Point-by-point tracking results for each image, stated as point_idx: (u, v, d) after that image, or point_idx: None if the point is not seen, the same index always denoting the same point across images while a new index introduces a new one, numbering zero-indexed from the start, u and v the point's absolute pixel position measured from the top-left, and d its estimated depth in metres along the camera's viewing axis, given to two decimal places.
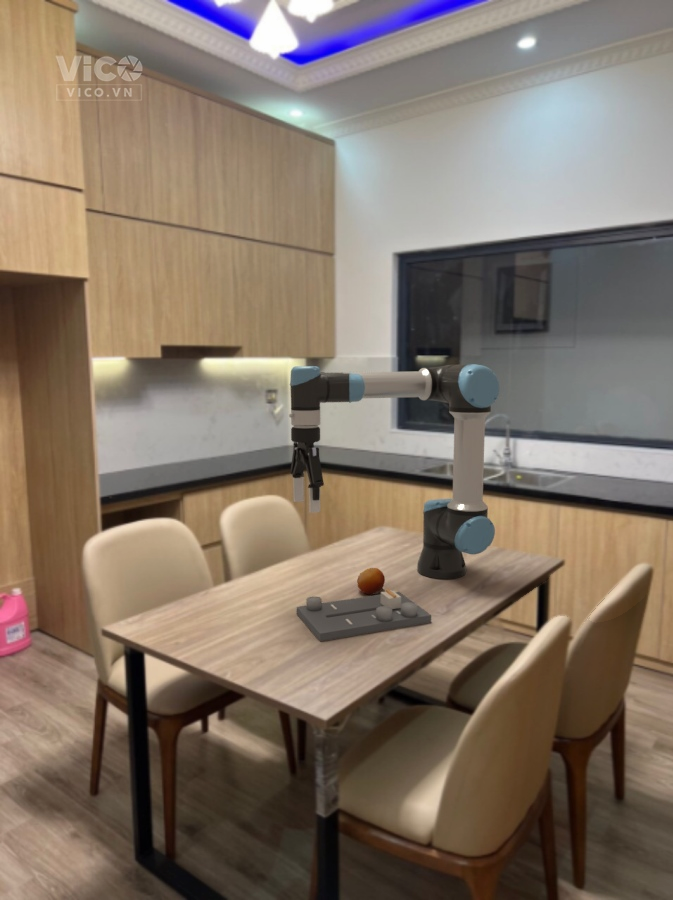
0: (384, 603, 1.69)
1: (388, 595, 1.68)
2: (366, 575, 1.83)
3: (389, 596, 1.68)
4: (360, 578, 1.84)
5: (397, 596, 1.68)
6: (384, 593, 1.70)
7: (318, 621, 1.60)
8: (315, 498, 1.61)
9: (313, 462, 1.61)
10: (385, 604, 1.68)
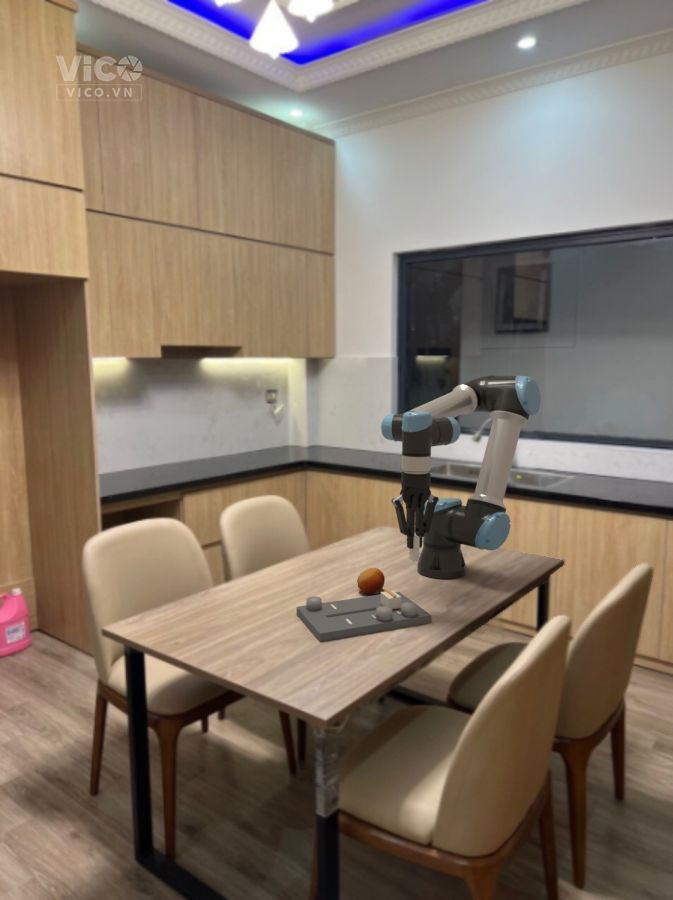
0: (384, 603, 1.69)
1: (388, 595, 1.68)
2: (366, 575, 1.83)
3: (389, 596, 1.68)
4: (360, 578, 1.84)
5: (397, 596, 1.68)
6: (384, 593, 1.70)
7: (318, 621, 1.60)
8: (407, 545, 1.69)
9: (397, 513, 1.67)
10: (385, 604, 1.68)
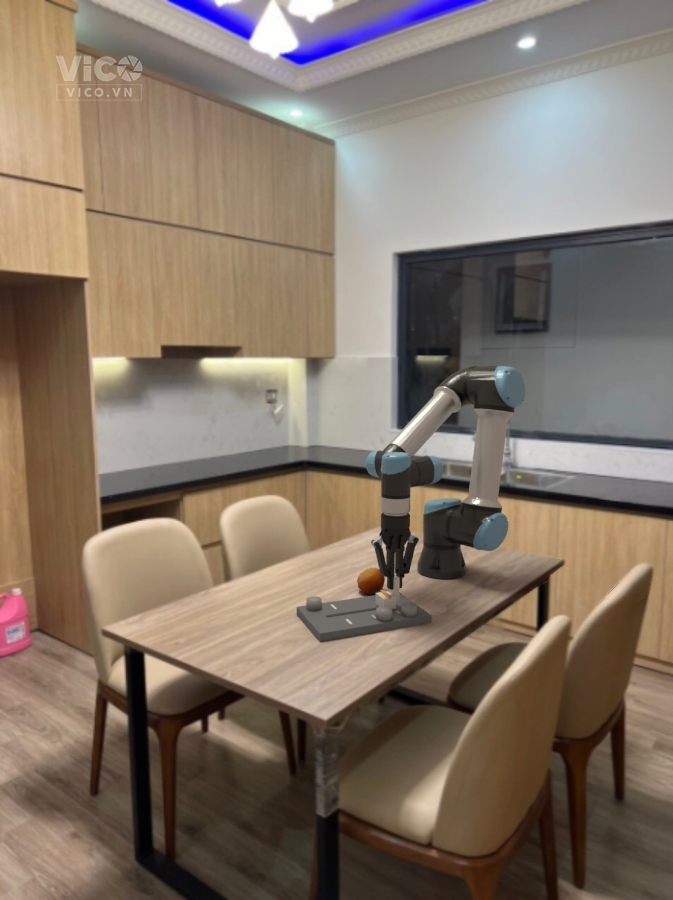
0: (379, 604, 1.68)
1: (383, 596, 1.68)
2: (366, 575, 1.83)
3: (384, 597, 1.67)
4: (360, 578, 1.84)
5: (392, 597, 1.67)
6: (379, 594, 1.69)
7: (318, 621, 1.60)
8: (387, 586, 1.69)
9: (377, 554, 1.66)
10: (380, 605, 1.68)
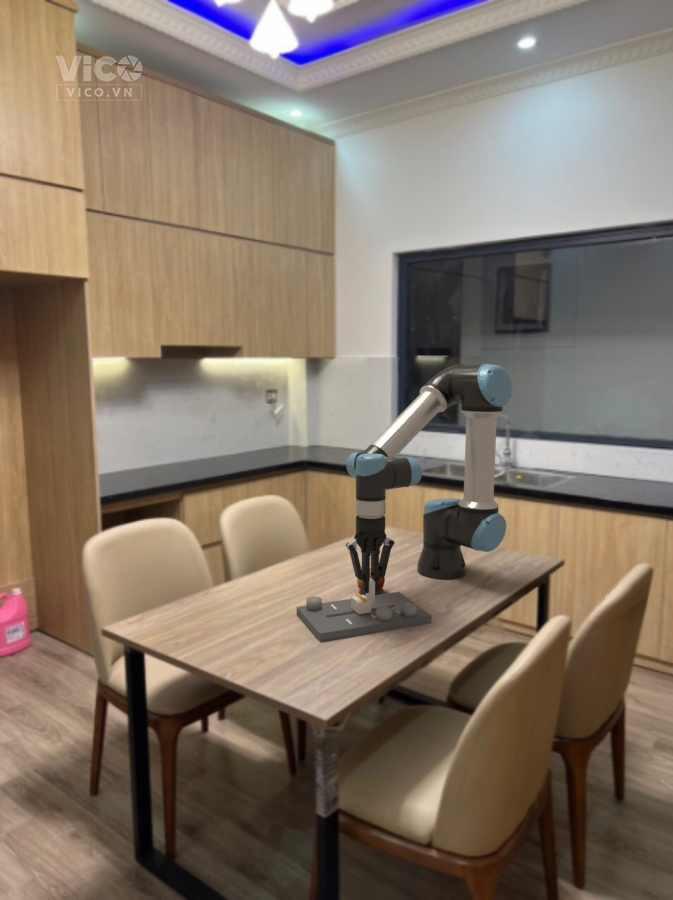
0: (354, 608, 1.66)
1: (358, 599, 1.65)
2: None
3: (359, 600, 1.65)
4: None
5: (367, 600, 1.65)
6: (354, 597, 1.67)
7: (318, 621, 1.60)
8: (363, 590, 1.66)
9: (351, 557, 1.64)
10: (355, 609, 1.65)
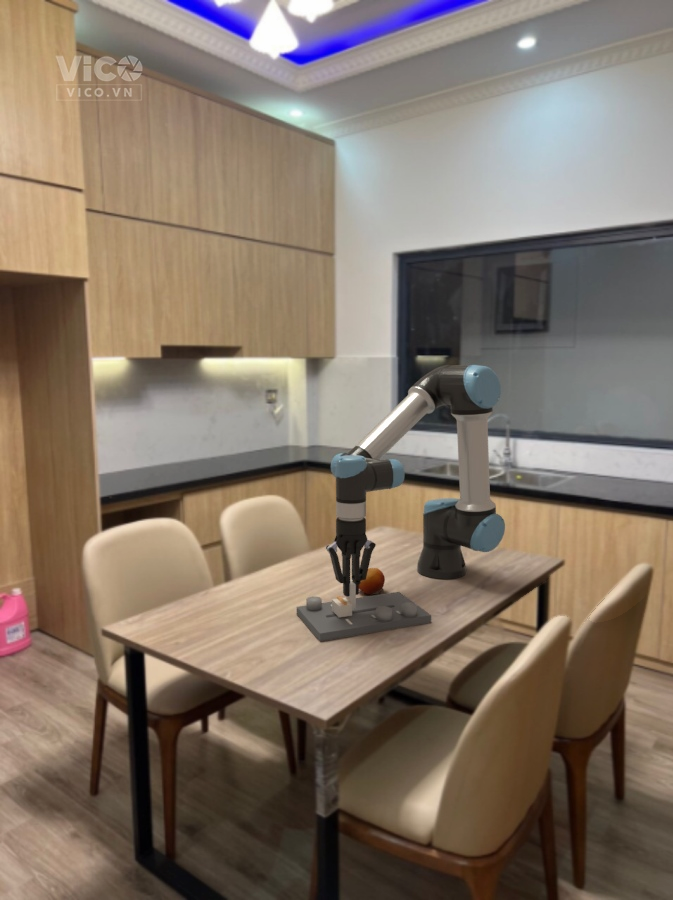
0: (335, 611, 1.64)
1: (339, 602, 1.63)
2: None
3: (340, 603, 1.63)
4: None
5: (348, 603, 1.63)
6: (335, 600, 1.65)
7: (318, 621, 1.60)
8: (343, 593, 1.64)
9: (332, 560, 1.62)
10: (336, 612, 1.63)
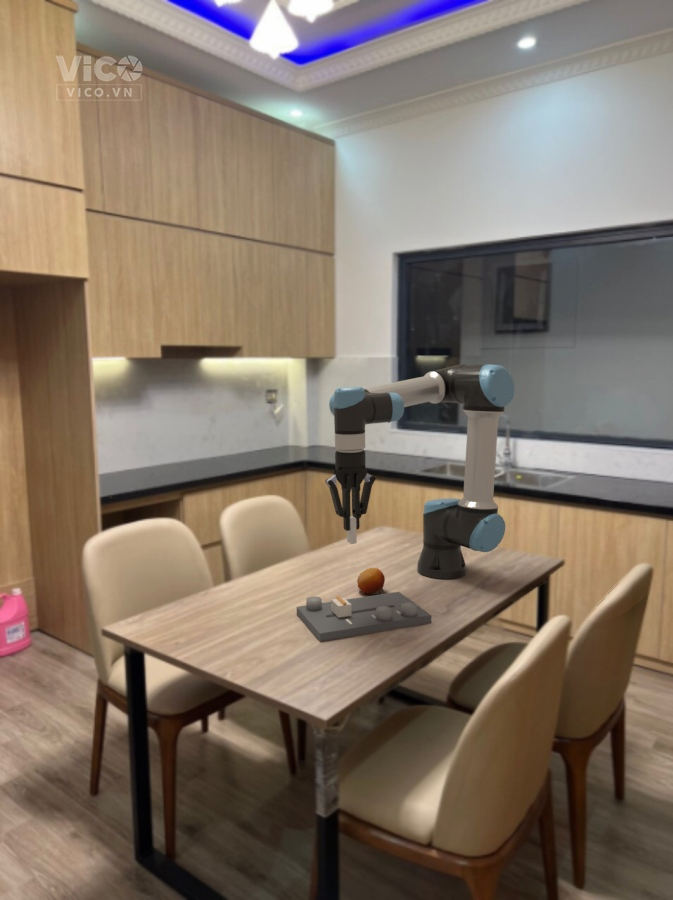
0: (334, 611, 1.64)
1: (338, 602, 1.63)
2: (366, 575, 1.83)
3: (339, 603, 1.63)
4: (360, 578, 1.84)
5: (347, 603, 1.63)
6: (335, 600, 1.65)
7: (318, 621, 1.60)
8: (344, 527, 1.62)
9: (331, 493, 1.60)
10: (335, 612, 1.63)
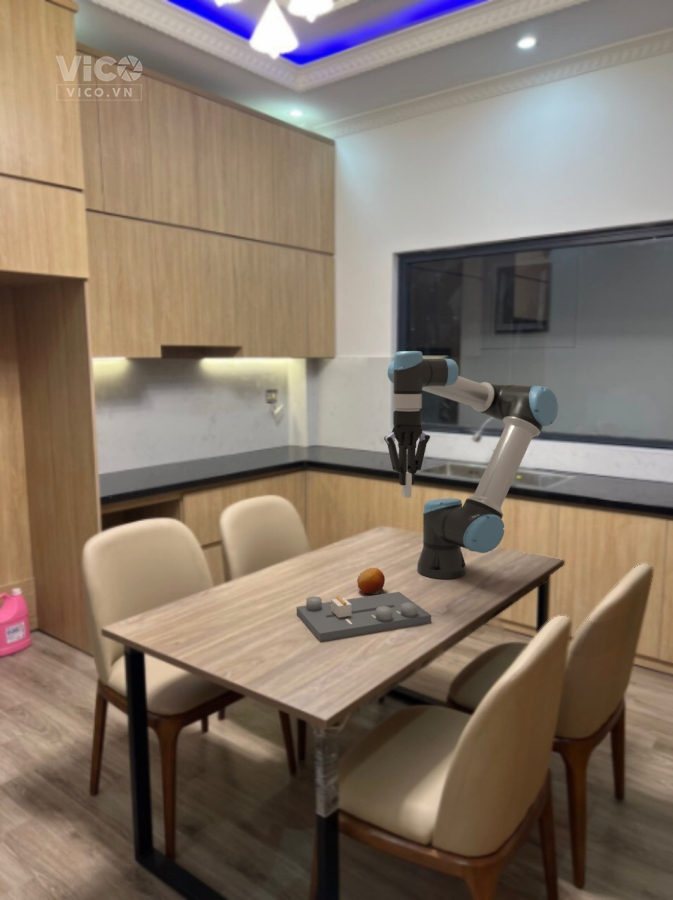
0: (334, 611, 1.64)
1: (338, 602, 1.63)
2: (366, 575, 1.83)
3: (339, 603, 1.63)
4: (360, 578, 1.84)
5: (347, 603, 1.63)
6: (335, 600, 1.65)
7: (318, 621, 1.60)
8: (400, 482, 1.74)
9: (389, 450, 1.72)
10: (335, 612, 1.63)
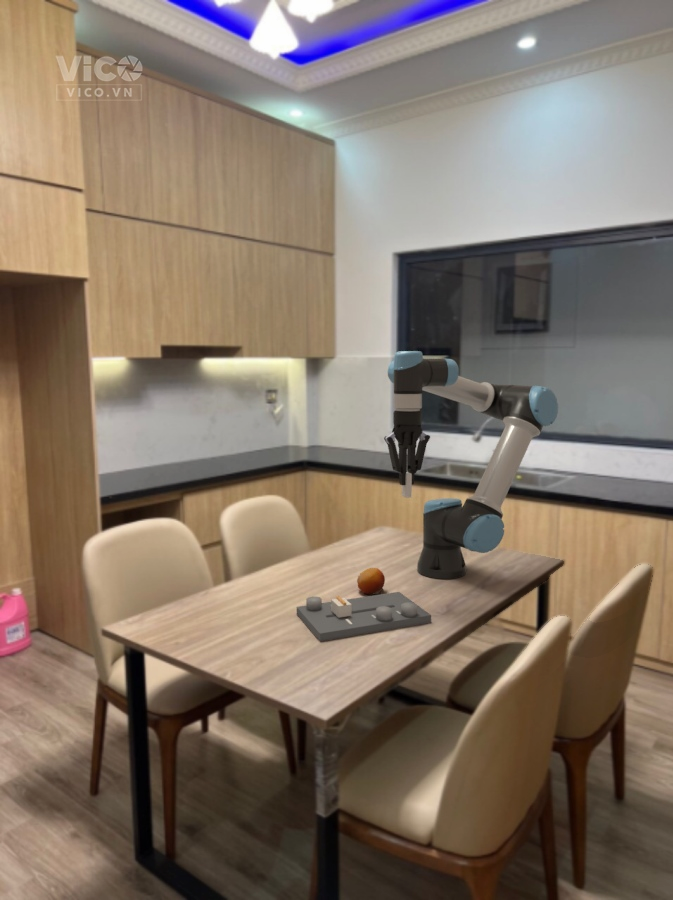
0: (334, 611, 1.64)
1: (338, 602, 1.63)
2: (366, 575, 1.83)
3: (339, 603, 1.63)
4: (360, 578, 1.84)
5: (347, 603, 1.63)
6: (335, 600, 1.65)
7: (318, 621, 1.60)
8: (400, 482, 1.74)
9: (389, 450, 1.72)
10: (335, 612, 1.63)
